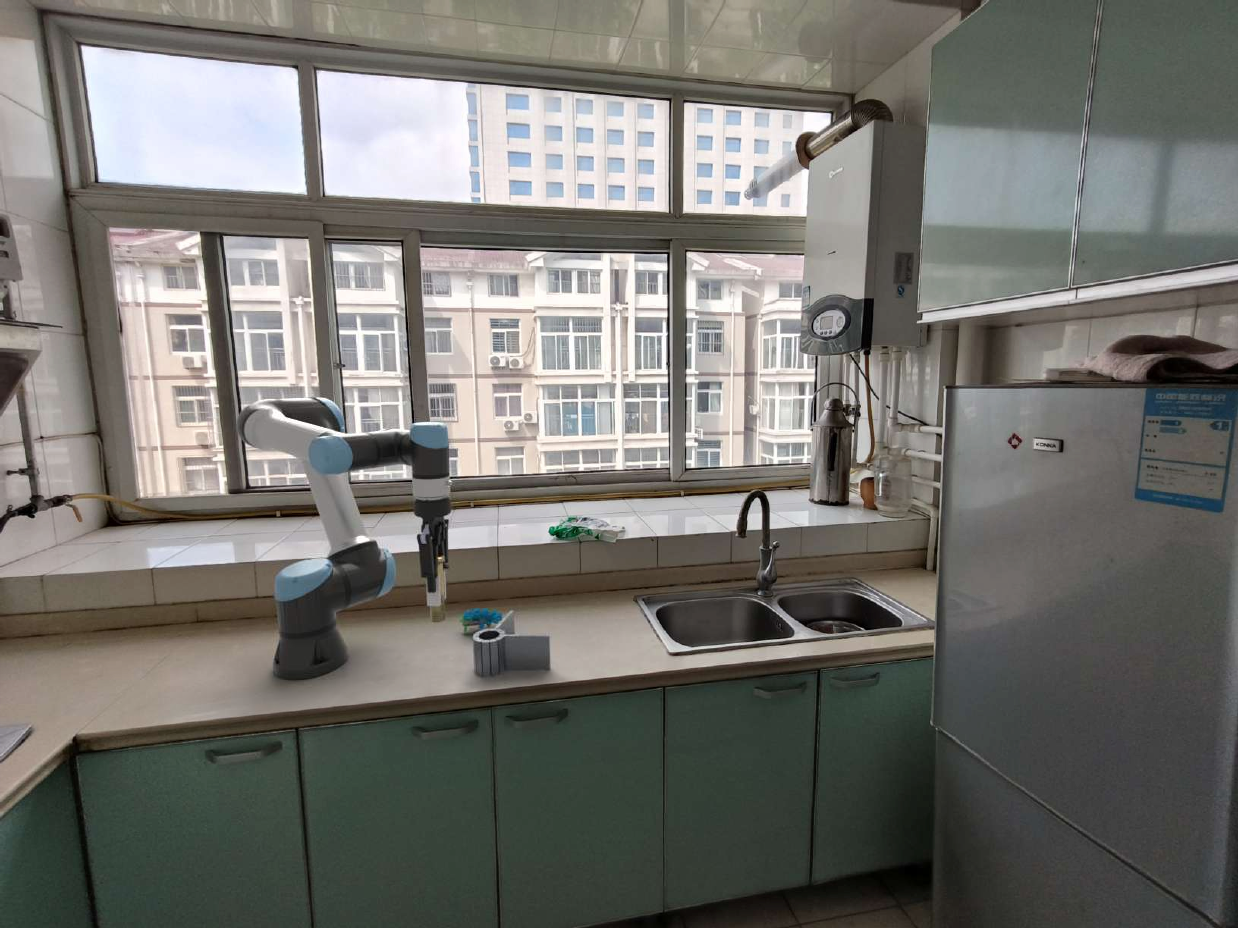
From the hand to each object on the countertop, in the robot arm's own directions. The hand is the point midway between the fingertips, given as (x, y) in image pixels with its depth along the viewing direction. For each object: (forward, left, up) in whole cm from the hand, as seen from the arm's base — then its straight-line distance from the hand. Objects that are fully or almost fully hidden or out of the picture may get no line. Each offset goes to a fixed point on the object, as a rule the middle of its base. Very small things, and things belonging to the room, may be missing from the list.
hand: (436, 601), depth 125 cm
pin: (0, 0, -4) cm, 4 cm away
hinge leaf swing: (+12, +11, -17) cm, 24 cm away
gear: (+3, +22, -17) cm, 28 cm away
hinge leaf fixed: (+15, +3, -17) cm, 23 cm away
